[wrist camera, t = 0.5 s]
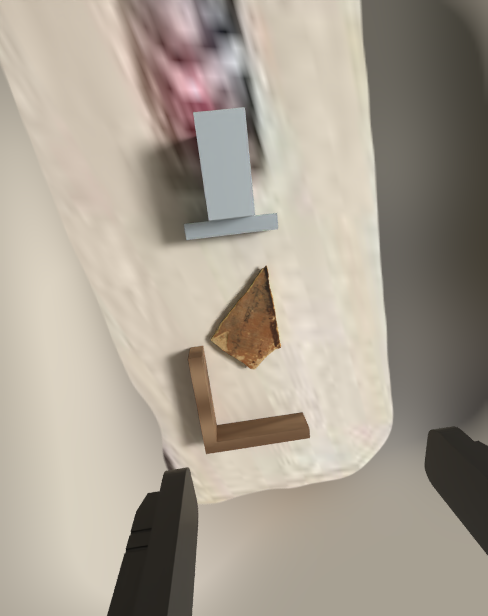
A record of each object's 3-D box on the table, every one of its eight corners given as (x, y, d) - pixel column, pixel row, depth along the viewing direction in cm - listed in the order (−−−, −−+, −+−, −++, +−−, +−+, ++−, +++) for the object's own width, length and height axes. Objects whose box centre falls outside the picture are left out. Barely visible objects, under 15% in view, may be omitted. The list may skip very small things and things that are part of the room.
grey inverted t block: (173, 138, 27) (160, 115, 22) (264, 128, 28) (276, 104, 22) (189, 238, 30) (182, 242, 24) (272, 228, 31) (284, 229, 25)
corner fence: (190, 347, 34) (187, 359, 31) (297, 332, 34) (304, 342, 31) (207, 436, 37) (206, 454, 35) (303, 421, 38) (309, 437, 35)
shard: (264, 263, 32) (266, 265, 30) (313, 301, 34) (318, 305, 32) (208, 335, 34) (207, 341, 32) (257, 368, 36) (259, 375, 34)
